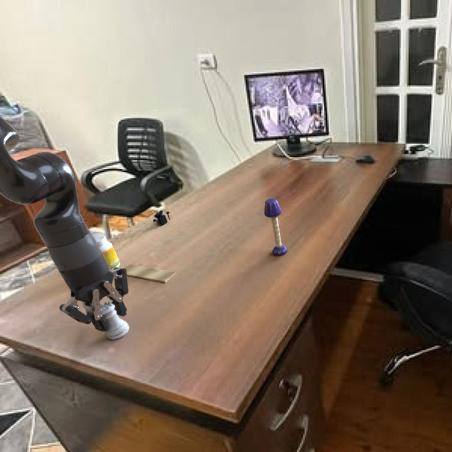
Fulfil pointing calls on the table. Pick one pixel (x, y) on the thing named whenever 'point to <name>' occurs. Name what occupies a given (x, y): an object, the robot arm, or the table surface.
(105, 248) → the supplement bottle
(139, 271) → the strip
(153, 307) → the table surface
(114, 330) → the rook chess piece
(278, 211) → the toy lamp
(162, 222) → the wireless earbuds
